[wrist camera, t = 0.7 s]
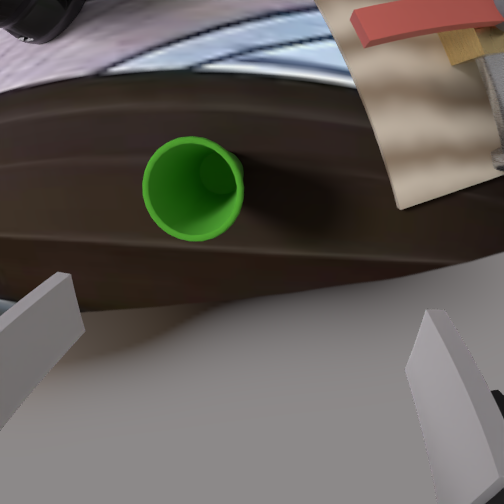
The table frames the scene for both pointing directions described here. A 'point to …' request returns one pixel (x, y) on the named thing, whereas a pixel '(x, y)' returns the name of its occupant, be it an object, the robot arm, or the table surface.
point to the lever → (423, 18)
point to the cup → (193, 188)
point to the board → (419, 109)
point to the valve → (482, 69)
